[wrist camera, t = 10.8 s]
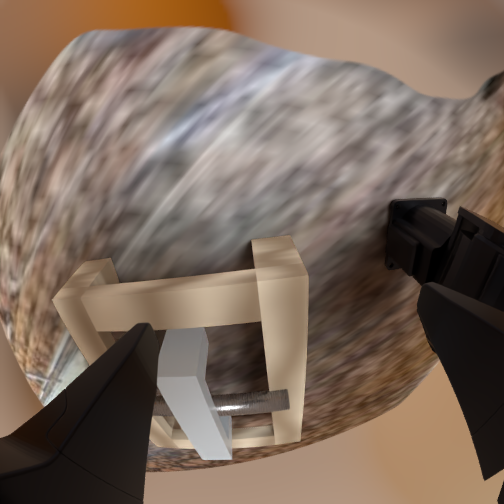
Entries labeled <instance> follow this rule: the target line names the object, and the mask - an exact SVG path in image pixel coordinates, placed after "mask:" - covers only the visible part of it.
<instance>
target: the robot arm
mask: <svg viewBox="0 0 504 504" xmlns="http://www.w3.org/2000/svg"><path fill="white" fill-rule="evenodd" d="M442 202H443V204H442ZM397 204H398V207H397V208H396V205H397ZM446 209H447V200H446V199H444V198H417V199H398V200H394V201H393V202H392V203H391V212H390V224H389V227H388V236H387V245H386V260H385V267H386V268H387V269H388V270H394V269H399V268H402V269H403V270H404V271H405V273H406V274H407V275H408V276H412V277H413V278H414V279H415V280H416V281H417V282H418V283H419V284H420V285H421V286H422V287H421V291H420V294H419V298H418V302H417V312H418V314H419V317H420V320H421V323H422V325H423V328H424V331H425V334H426V338H427V340H428V343H429V345H430V347H431V348H432V350H433V352H435V353H436V354H437V355H438V357H439V359H440V361H441V363H442V365H443V367H444V370H445V372H446V374H447V376H448V378H449V381H450V383H451V385H452V387H453V390H454V392H455V394H456V397H457V399H458V402H459V404H460V406H461V409H462V411H463V414H464V417H465V420H466V422H467V425H468V428H469V431H470V434H471V436H472V440H473V443H474V447H475V449H476V453H477V456H478V460H479V464H480V467H481V471H482V475H483V479H484V480H487V479H489V478H490V477H492V476H493V475H495V474H497V473H498V472H499V471H501V470H503V469H504V228H503V227H502V226H500V225H498V224H496V223H495V222H493V221H491V220H489V219H487V218H485V217H483V216H481V215H479V214H477V213H474V212H472V211H470V210H468V209H465V208H463V207H461V206H460V207H459V210H458V217H457V220H455V219H453V218H451V217H450V216H448V215H446ZM390 263H391V265H390ZM158 358H159V342H158V339H157V337H156V335H155V332H154V330H153V328H152V326H151V324H150V323H148V322H144V323H137V324H136V325H134V326H133V327H132V328H131V329H130V330H129V331H128V332H127V333H125V334H124V335H123V336H122V337H121V338H120V339H119V340H118V341H117V342H115V343H114V344H113V345H112V346H111V347H110V348H109V349H108V350H107V351H105V352H104V353H103V354H102V355H101V356H100V357H99V358H98V359H97V360H96V361H94V362H93V363H92V364H91V365H90V366H89V367H88V368H87V369H86V370H85V371H83V372H82V373H81V374H80V375H79V376H78V377H77V378H76V379H75V380H74V381H73V382H72V383H70V384H69V385H68V386H67V387H66V389H64V390H63V391H62V392H61V393H60V394H59V395H58V396H57V397H55V398H54V399H53V400H52V401H51V402H50V403H49V404H48V405H47V406H45V407H44V408H43V409H42V410H40V411H39V412H38V413H37V414H36V415H34V416H33V417H32V418H31V419H29V420H28V421H27V422H25V423H24V424H23V425H22V426H20V427H19V428H18V429H17V430H15V431H14V432H13V433H11V434H10V435H8V436H5V437H3V438H0V504H143V498H144V484H145V473H146V463H147V454H148V445H149V437H150V429H151V422H152V415H153V409H154V402H155V396H156V389H157V374H158ZM497 501H498V504H504V482H503V485H502V488H501V491H500V494H499V497H498V500H497Z"/></svg>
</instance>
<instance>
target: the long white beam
mask: <svg viewBox="0 0 504 504" xmlns="http://www.w3.org/2000/svg"><path fill="white" fill-rule="evenodd" d="M208 346H209V342H208V339H207V335H206V331H205V327H198V328H184V329H168V330H167V331H166V334H165V337H164V340H163V344H162V347H161V350H160V353H159V358H158V374H157V386H158V388H159V390H160V392H161V394H162V396H163V398H164V399H165V401H166V403H167V405H168V406H169V408H170V410H171V411H172V413H173V415H174V417H175V418H176V420H177V421H178V423H179V425H180V426H181V428H182V430H183V431H184V433H185V434H186V436H187V437H188V439H189V440H190V442H191V443H192V445H193V446H194V448H195V449H196V451H197V452H198V454H199V455H200V456H201V458H202V459H203V460H231V459H232V418H231V416H219V415H218V413H217V410H216V408H215V405H214V402H213V400H212V397H211V394H210V392H209V389H208V386H207V383H206V381H205V373H206V364H207V354H208Z"/></svg>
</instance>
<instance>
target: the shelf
mask: <svg viewBox="0 0 504 504" xmlns="http://www.w3.org/2000/svg"><path fill="white" fill-rule="evenodd" d="M251 242H252V250H253V259H254V267H255V269H249V270H241V271H232V272H224V273H215V274H206V275H197V276H188V277H179V278H170V279H160V280H150V281H140V282H130V283H120V282H119V279H118V276H117V273H116V271H115V268H114V265H113V262H112V259H111V258H106V259H99V260H92V261H85V262H84V263H83V264H82V265H81V266H80V267H79V268H78V269H77V271H76V272H75V273H74V274H73V275H72V276H71V277H70V279H69V280H68V281H67V282H66V283H65V284H64V286H63V287H62V288H61V289H60V290H59V292H58V293H57V294H56V295H55V297H54V298H53V299H52V301H53V303H54V305H55V307H56V309H57V311H58V313H59V315H60V317H61V318H62V320H63V322H64V324H65V326H66V327H67V329H68V331H69V333H70V334H71V336H72V338H73V340H74V341H75V343H76V344H77V346H78V348H79V349H80V351H81V352H82V354H83V356H84V357H85V359H86V360H87V362H88V363H89V365H91V364H92V363H93V362H94V361H96V360H97V359H98V358H99V357H100V356H101V355H102V354H103V353H104V352H105V351H107V350H108V349H109V348H110V347H111V346H112V345H113V344H114V343H115V340H114V338H113V336H112V334H111V332H110V331H129V330H130V329H131V328H132V327H133V326H134V325H136V324H137V323H144V322H148V323H150V324H151V326H152V328H153V330H168V329H184V328H198V327H210V326H222V325H232V324H241V323H250V322H259V321H261V323H262V332H263V340H264V349H265V358H266V367H267V376H268V384H269V391H276V390H283V389H287V390H288V395H289V402H290V410H283V411H276V412H271V414H272V422H273V425H270V426H261V427H250V428H237V429H232V448H246V447H258V446H268V445H277V444H284V443H291V442H297V441H300V438H301V428H302V417H303V405H304V392H305V376H306V358H307V334H308V283H309V275H308V273H307V271H306V268H305V266H304V264H303V262H302V260H301V258H300V256H299V253H298V251H297V249H296V247H295V245H294V243H293V241H292V239H291V236H290V235H287V236H278V237H270V238H261V239H253V240H251ZM149 439H150V440H151V441H152V442H153V443H154V444H155V445H156V446H157V447H168V448H186V449H195V448H194V446H193V445H192V443H191V442H190V440H189V439H188V437H187V436H186V434H185V433H184V431H183V430H182V429H181V426H180V425H179V423H178V421H177V420H176V418H175V417H169V416H152V422H151V429H150V437H149Z"/></svg>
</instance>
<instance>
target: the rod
mask: <svg viewBox="0 0 504 504" xmlns="http://www.w3.org/2000/svg"><path fill="white" fill-rule="evenodd" d="M211 397H212V400H213V402H214V405H215V408H216V410H217V413H218V415H219V416H235V415H248V414H258V413H268V412H276V411H283V410H290V402H289V395H288V390H287V389H283V390H276V391H269V390H267V391H259V392H249V393H238V394H223V395H211ZM152 416H169V417H174V415H173V413H172V411H171V410H170V408H169V406H168V405H167V403H166V401H165V399H164V398H163V396H157V395H156V396H155V402H154V409H153V415H152Z"/></svg>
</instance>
